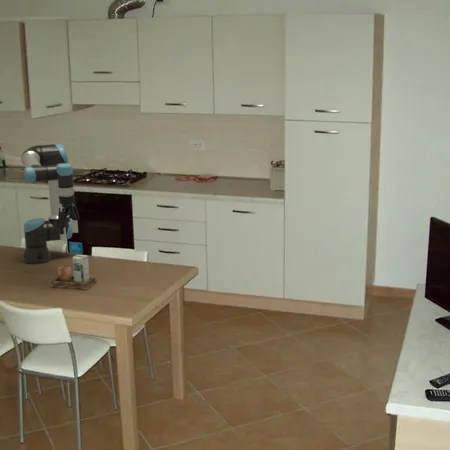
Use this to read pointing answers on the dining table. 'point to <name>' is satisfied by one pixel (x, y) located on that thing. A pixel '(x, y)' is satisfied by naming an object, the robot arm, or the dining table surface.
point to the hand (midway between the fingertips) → (69, 236)
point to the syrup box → (81, 269)
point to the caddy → (70, 280)
